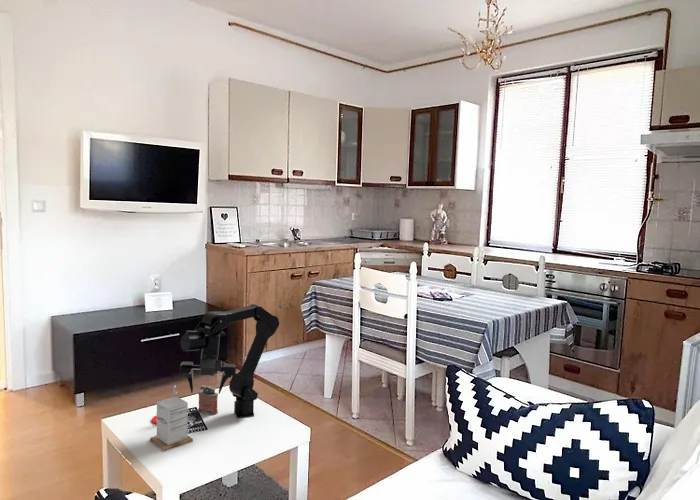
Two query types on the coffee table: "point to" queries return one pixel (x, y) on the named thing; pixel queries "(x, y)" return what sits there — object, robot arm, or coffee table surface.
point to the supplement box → (172, 420)
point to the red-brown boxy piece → (208, 400)
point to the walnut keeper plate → (167, 447)
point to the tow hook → (154, 419)
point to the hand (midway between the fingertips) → (205, 392)
